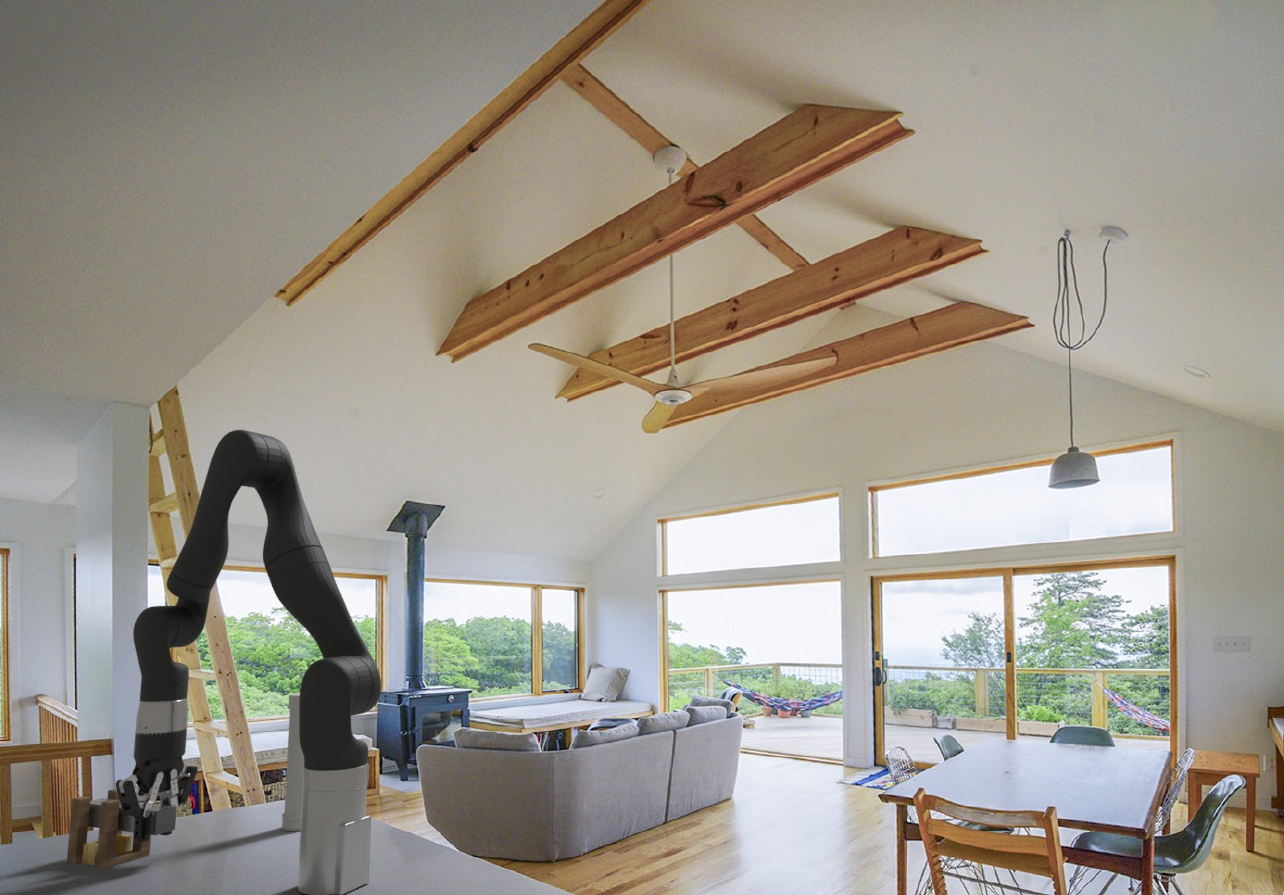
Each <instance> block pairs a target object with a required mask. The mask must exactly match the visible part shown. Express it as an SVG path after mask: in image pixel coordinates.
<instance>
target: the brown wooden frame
mask: <svg viewBox="0 0 1284 895" xmlns="http://www.w3.org/2000/svg"><path fill="white" fill-rule="evenodd" d="M145 796H148V794H145ZM107 799H114V800H107V801H103V802H102V803H101V814H100V826H99V828H98V839H97V840H98V850H97V861H96V865H95V868H97V869H98V868H99V869H108V868H111V867H114V866H117V865H118V866H119V865H121V864H125V863H128V862H131V861H134V860H136V859H140V858H143V857H146V856H149V855H150V854H151V853H150V852H151V851H150V850H151V840H152V839H151V838H152V835H149V840H148V841H146V842H137V841H136V840H135V838H134V836H133V835H132V839H133V840H132V848H131V851H128V852H124V853H121V854H117V855H115V854H116V841H117V834H123V831H118V830H117V829H118V817H119V805H120V801H119V796H118V793H117V789H116V788H114V789H109V790H107ZM90 801H91V797H90V796H78V797H73V798H72V801H71V810H70V820H69V822H70V823H69V831H68V832H69V833H68V845H67V854H66V863H67V862H69V863H68V864H71V863H74V864H73V865H76V863H77V864H80V863H81V858H82V847H83V844H84V843H87V841H88V831H89V827H88V820H89V809H90Z"/></svg>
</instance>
